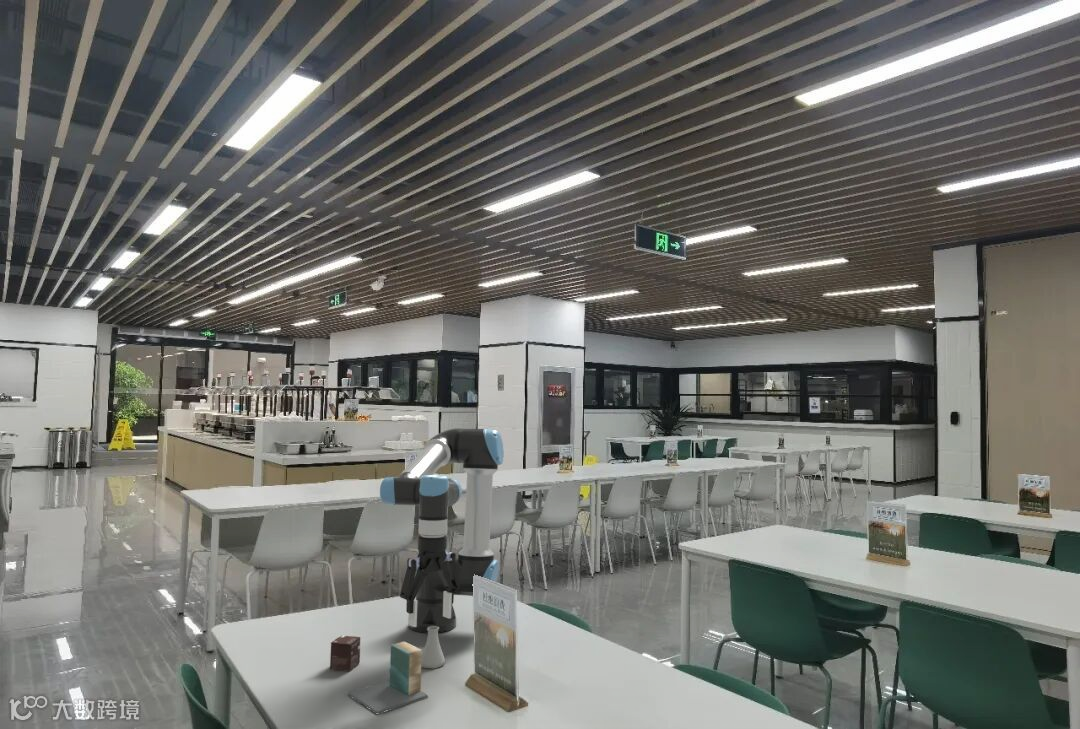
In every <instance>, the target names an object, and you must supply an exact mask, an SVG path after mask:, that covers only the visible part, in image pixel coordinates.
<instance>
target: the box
mask: <svg viewBox="0 0 1080 729" xmlns="http://www.w3.org/2000/svg"><path fill="white" fill-rule="evenodd" d="M329 656H330V657H329V658H330V661H329V662H330V663H329V670H330V669H335V670H334V671H340V670H346V671H345V672H351V671H352V670H354V669H355V668H356V667H357V666H359V665H360V664H359V663H361V661H360V660H361V636H351V635H340V636H339V637H337V638H335V639H334V640H332V641H331V642H330V655H329ZM358 664H359V665H358ZM353 668H354V669H353Z"/></svg>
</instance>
